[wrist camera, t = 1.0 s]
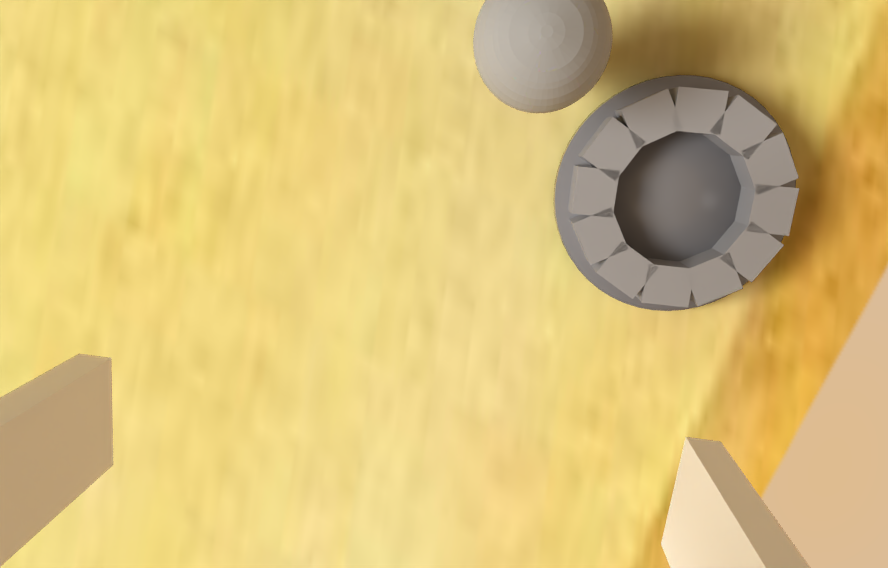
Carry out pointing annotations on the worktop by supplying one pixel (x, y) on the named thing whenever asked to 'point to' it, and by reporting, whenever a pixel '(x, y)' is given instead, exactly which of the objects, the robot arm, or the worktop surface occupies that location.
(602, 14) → the light bulb
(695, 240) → the socket
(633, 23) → the worktop surface
